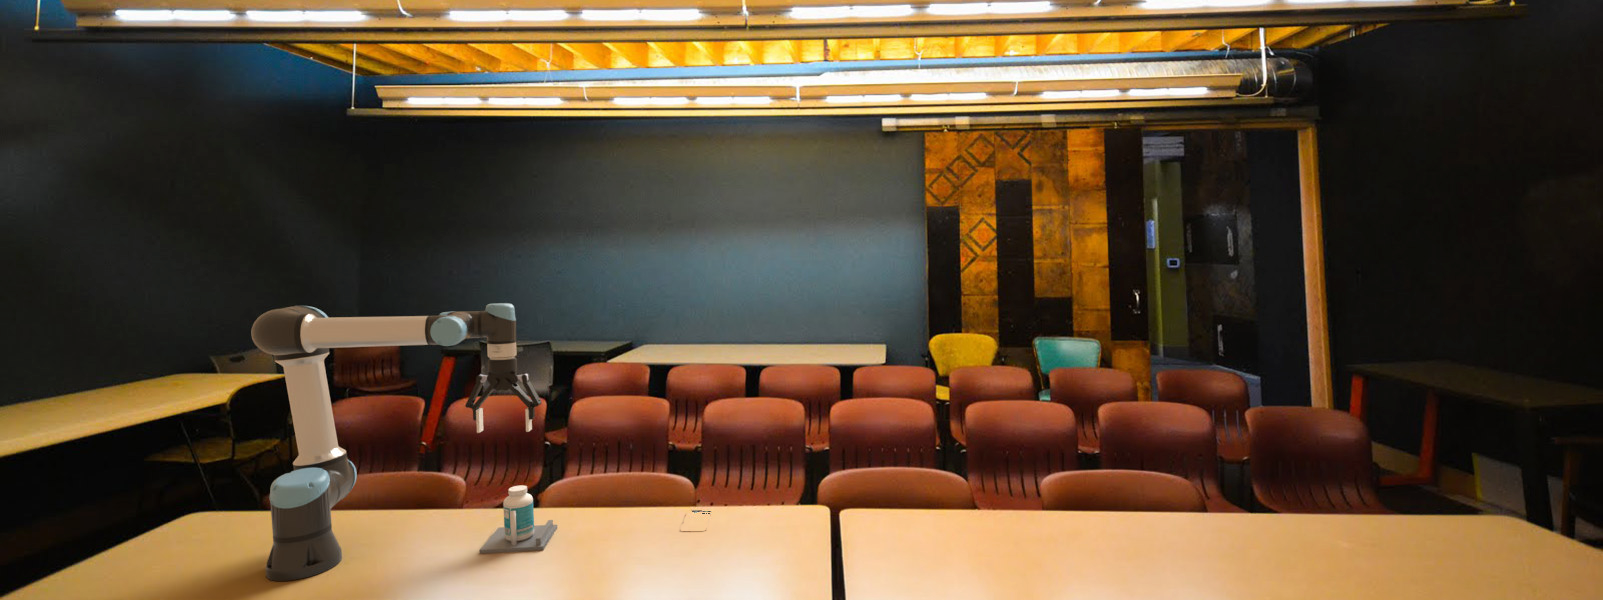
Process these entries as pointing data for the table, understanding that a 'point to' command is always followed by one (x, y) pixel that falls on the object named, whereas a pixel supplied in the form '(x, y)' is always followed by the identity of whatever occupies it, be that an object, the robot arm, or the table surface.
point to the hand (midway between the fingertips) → (504, 431)
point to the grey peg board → (531, 544)
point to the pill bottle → (519, 512)
